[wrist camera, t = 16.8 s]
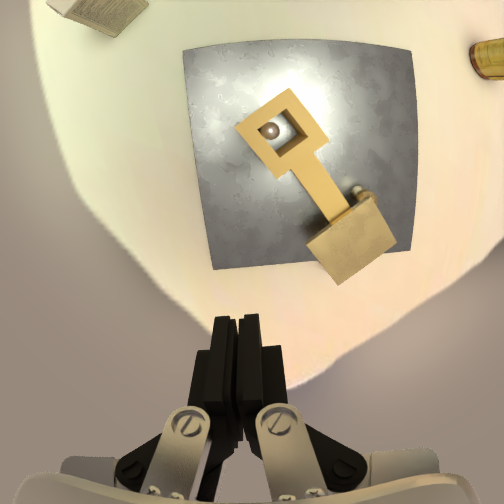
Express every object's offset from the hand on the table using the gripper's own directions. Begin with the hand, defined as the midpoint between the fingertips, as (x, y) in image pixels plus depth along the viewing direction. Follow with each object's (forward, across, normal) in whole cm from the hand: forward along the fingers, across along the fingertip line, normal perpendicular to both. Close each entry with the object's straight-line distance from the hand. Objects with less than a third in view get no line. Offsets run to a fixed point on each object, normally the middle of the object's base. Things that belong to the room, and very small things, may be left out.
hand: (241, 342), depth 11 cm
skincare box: (+25, +13, -26) cm, 39 cm away
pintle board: (+25, -9, -3) cm, 27 cm away
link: (+25, -7, -2) cm, 26 cm away
